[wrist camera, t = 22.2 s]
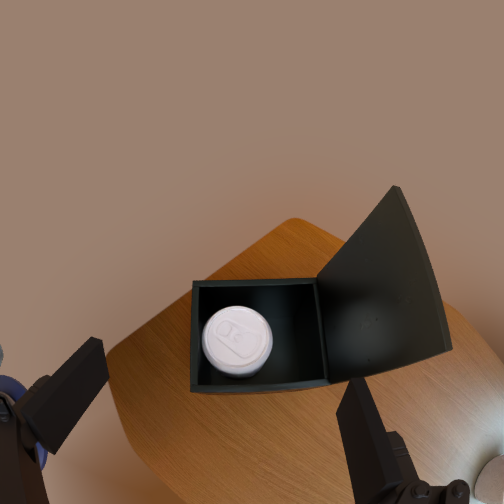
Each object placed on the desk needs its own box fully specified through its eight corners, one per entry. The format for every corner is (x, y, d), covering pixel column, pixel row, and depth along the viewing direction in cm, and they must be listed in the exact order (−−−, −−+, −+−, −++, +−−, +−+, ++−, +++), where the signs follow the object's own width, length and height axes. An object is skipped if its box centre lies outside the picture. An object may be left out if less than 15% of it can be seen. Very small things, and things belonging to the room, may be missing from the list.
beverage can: (246, 390, 36) (248, 387, 26) (200, 360, 38) (185, 345, 28) (275, 346, 40) (287, 325, 30) (230, 319, 42) (226, 289, 32)
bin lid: (446, 351, 12) (453, 349, 12) (392, 184, 19) (400, 186, 19) (330, 384, 25) (337, 383, 25) (316, 275, 31) (322, 275, 32)
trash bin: (206, 394, 37) (190, 392, 25) (206, 316, 43) (192, 280, 31) (304, 390, 37) (332, 384, 25) (297, 313, 44) (318, 277, 32)
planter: (508, 456, 24) (540, 453, 15) (486, 503, 19) (517, 506, 9) (485, 449, 27) (521, 447, 18) (460, 501, 22) (494, 507, 12)
